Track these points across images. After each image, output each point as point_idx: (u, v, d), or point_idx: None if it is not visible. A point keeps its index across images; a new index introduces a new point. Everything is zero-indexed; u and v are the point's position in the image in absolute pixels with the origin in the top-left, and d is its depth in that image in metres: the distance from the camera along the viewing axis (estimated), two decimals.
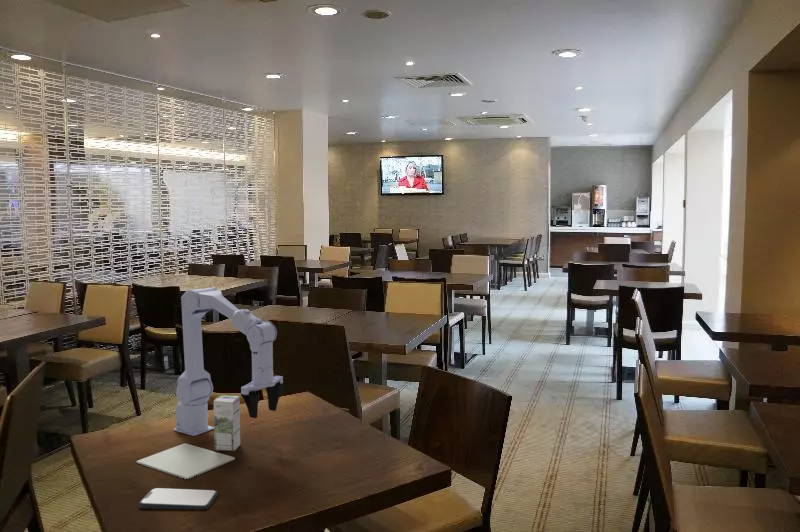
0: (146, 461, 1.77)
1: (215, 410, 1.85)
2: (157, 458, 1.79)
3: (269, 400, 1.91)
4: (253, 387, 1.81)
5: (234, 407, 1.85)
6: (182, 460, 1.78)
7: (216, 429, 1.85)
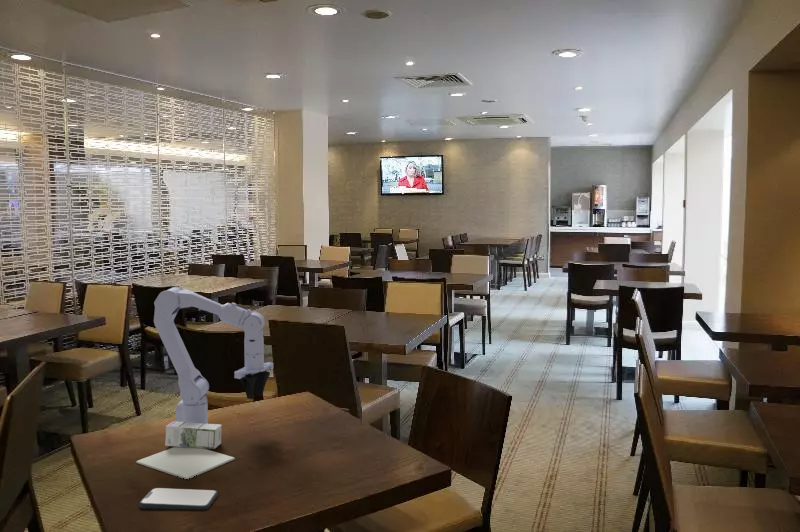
0: (146, 461, 1.77)
1: (173, 444, 1.87)
2: (157, 458, 1.79)
3: (256, 386, 2.04)
4: (245, 372, 1.97)
5: (173, 425, 1.88)
6: (182, 460, 1.78)
7: (192, 445, 1.87)
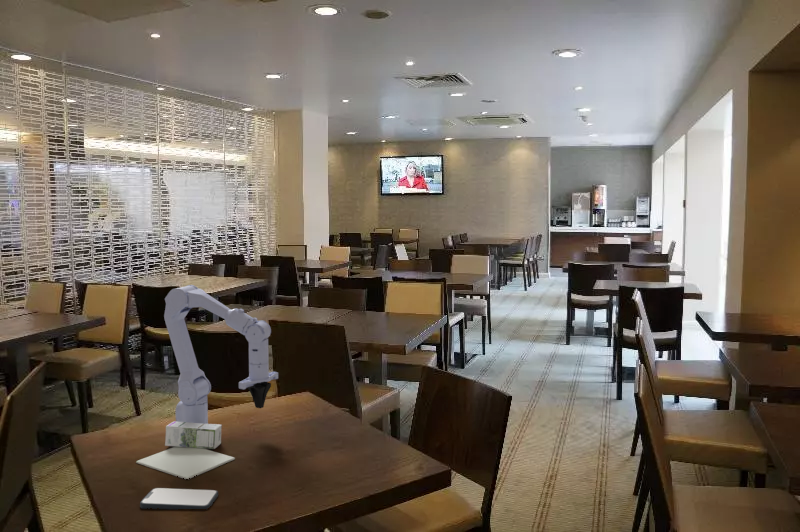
0: (146, 461, 1.77)
1: (173, 444, 1.87)
2: (157, 458, 1.79)
3: None
4: (250, 382, 1.93)
5: (173, 425, 1.88)
6: (182, 460, 1.78)
7: (192, 445, 1.87)
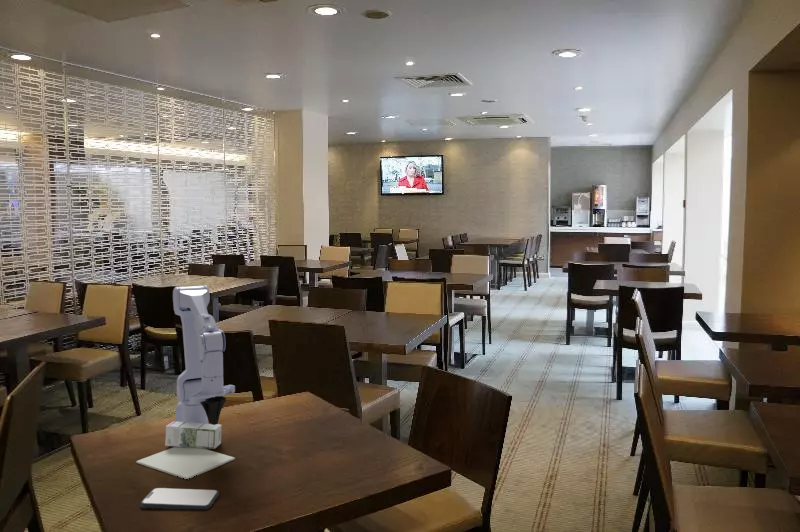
0: (146, 461, 1.77)
1: (173, 444, 1.87)
2: (157, 458, 1.79)
3: None
4: (201, 397, 1.78)
5: (173, 425, 1.88)
6: (182, 460, 1.78)
7: (192, 445, 1.87)
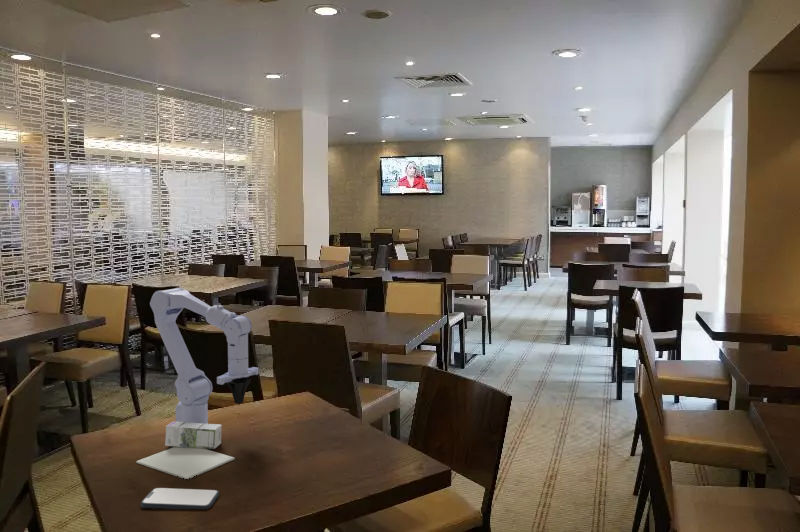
0: (146, 461, 1.77)
1: (173, 444, 1.87)
2: (157, 458, 1.79)
3: None
4: (228, 377, 1.91)
5: (173, 425, 1.88)
6: (182, 460, 1.78)
7: (192, 445, 1.87)
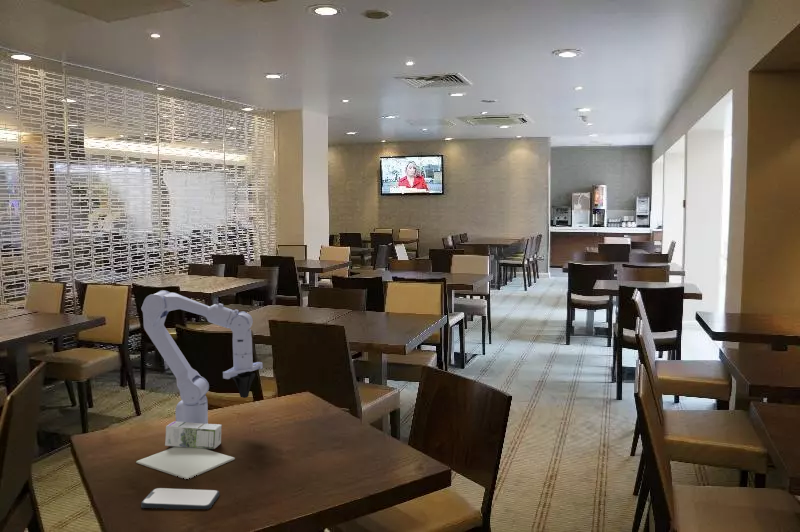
0: (146, 461, 1.77)
1: (173, 444, 1.87)
2: (157, 458, 1.79)
3: None
4: (234, 372, 1.97)
5: (173, 425, 1.88)
6: (182, 460, 1.78)
7: (192, 445, 1.87)
